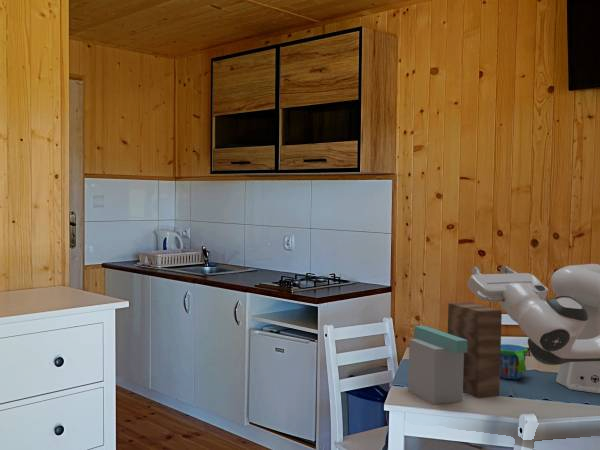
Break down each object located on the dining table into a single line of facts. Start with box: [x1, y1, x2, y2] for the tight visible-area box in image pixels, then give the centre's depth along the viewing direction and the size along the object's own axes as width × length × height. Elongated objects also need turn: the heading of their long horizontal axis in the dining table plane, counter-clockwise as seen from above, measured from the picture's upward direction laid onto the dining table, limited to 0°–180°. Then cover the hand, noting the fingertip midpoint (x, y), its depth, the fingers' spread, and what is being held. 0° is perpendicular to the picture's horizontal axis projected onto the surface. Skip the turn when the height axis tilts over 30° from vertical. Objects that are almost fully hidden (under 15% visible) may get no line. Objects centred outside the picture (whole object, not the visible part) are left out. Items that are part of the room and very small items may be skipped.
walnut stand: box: [447, 301, 503, 399], centre depth 197 cm, size 16×8×26 cm, turn 21°
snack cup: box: [500, 343, 529, 381], centre depth 212 cm, size 16×10×10 cm
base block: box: [407, 338, 464, 405], centre depth 190 cm, size 14×10×16 cm
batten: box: [413, 325, 468, 353], centre depth 188 cm, size 22×4×4 cm, turn 22°
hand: (489, 268), depth 173 cm, fingers open, 8 cm apart
